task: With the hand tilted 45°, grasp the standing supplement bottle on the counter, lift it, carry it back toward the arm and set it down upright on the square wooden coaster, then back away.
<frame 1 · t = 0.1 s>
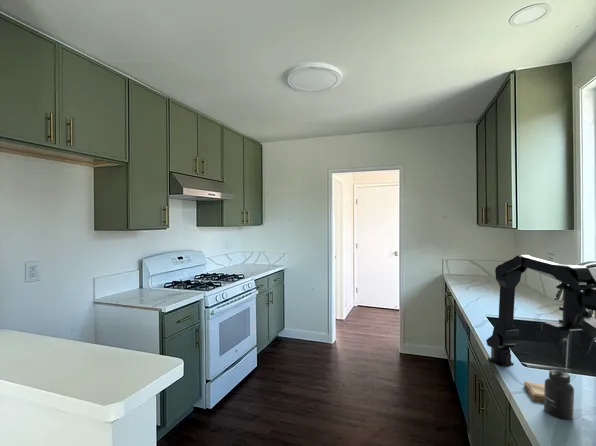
hand: (573, 354, 102), 15 cm above the counter, tool pointing down, fingers open, 9 cm apart
square wooden coaster: (545, 395, 105), on the counter
supplement bottle: (558, 414, 95), on the counter
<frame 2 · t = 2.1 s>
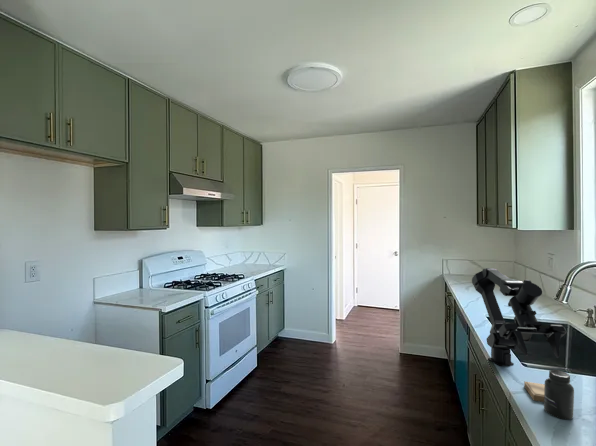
hand: (542, 356, 103), 13 cm above the counter, tool tilted 45°, fingers open, 9 cm apart
nothing on the counter moved.
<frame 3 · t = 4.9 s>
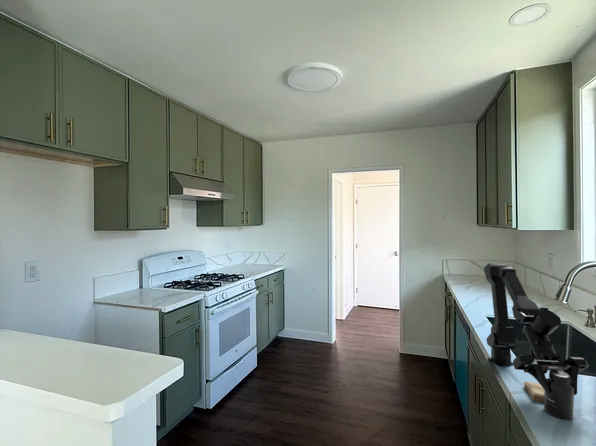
hand: (562, 393, 94), 7 cm above the counter, tool tilted 45°, fingers closed on supplement bottle, 7 cm apart
supplement bottle: (558, 414, 95), on the counter, touching gripper
when the fingers open (9 cm above the counter, at t = 8.4 s): supplement bottle stays where it is, resting on square wooden coaster.
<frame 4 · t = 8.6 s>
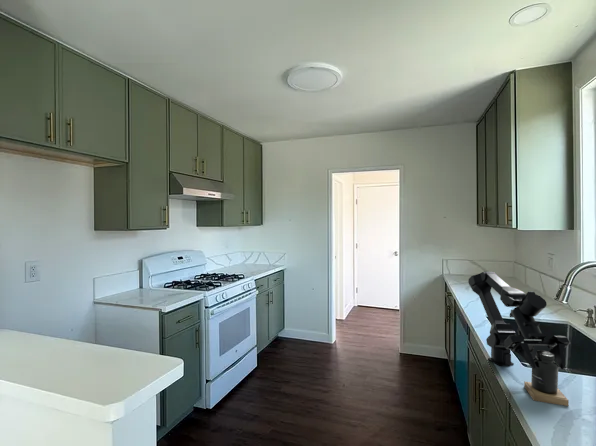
hand: (548, 368, 103), 10 cm above the counter, tool tilted 45°, fingers open, 9 cm apart
supplement bottle: (544, 389, 105), point 2 cm above the counter, touching square wooden coaster
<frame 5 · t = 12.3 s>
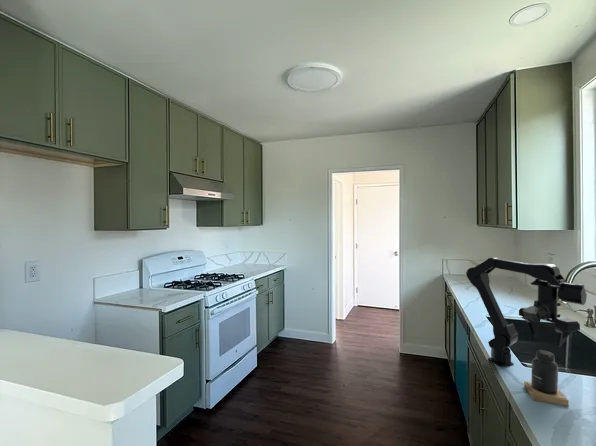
hand: (546, 341, 117), 13 cm above the counter, tool pointing down, fingers open, 9 cm apart
nothing on the counter moved.
at the end: supplement bottle inside the target area on the square wooden coaster (0.3 cm from its centre), point 1.8 cm above the square wooden coaster's base; supplement bottle tilted 0°; the gripper is holding nothing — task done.
